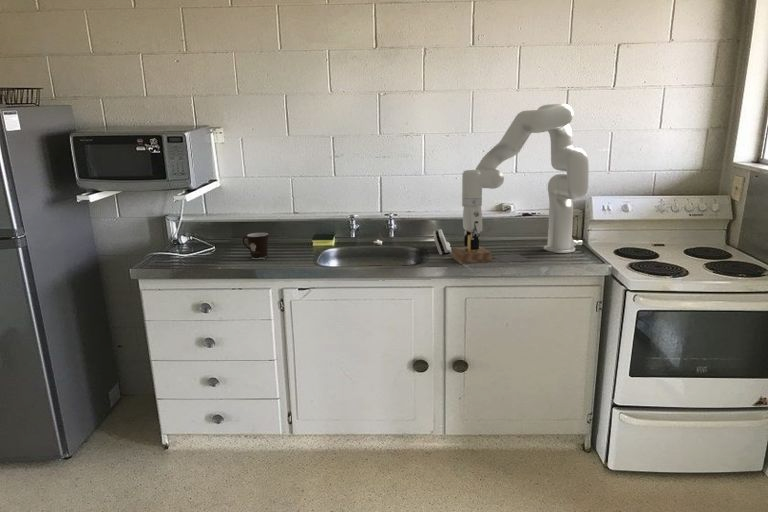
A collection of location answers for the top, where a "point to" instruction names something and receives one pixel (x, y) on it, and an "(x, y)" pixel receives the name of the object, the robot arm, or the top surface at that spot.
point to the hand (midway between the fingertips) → (471, 247)
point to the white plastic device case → (441, 242)
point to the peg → (470, 244)
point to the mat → (509, 258)
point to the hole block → (471, 255)
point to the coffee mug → (257, 244)
